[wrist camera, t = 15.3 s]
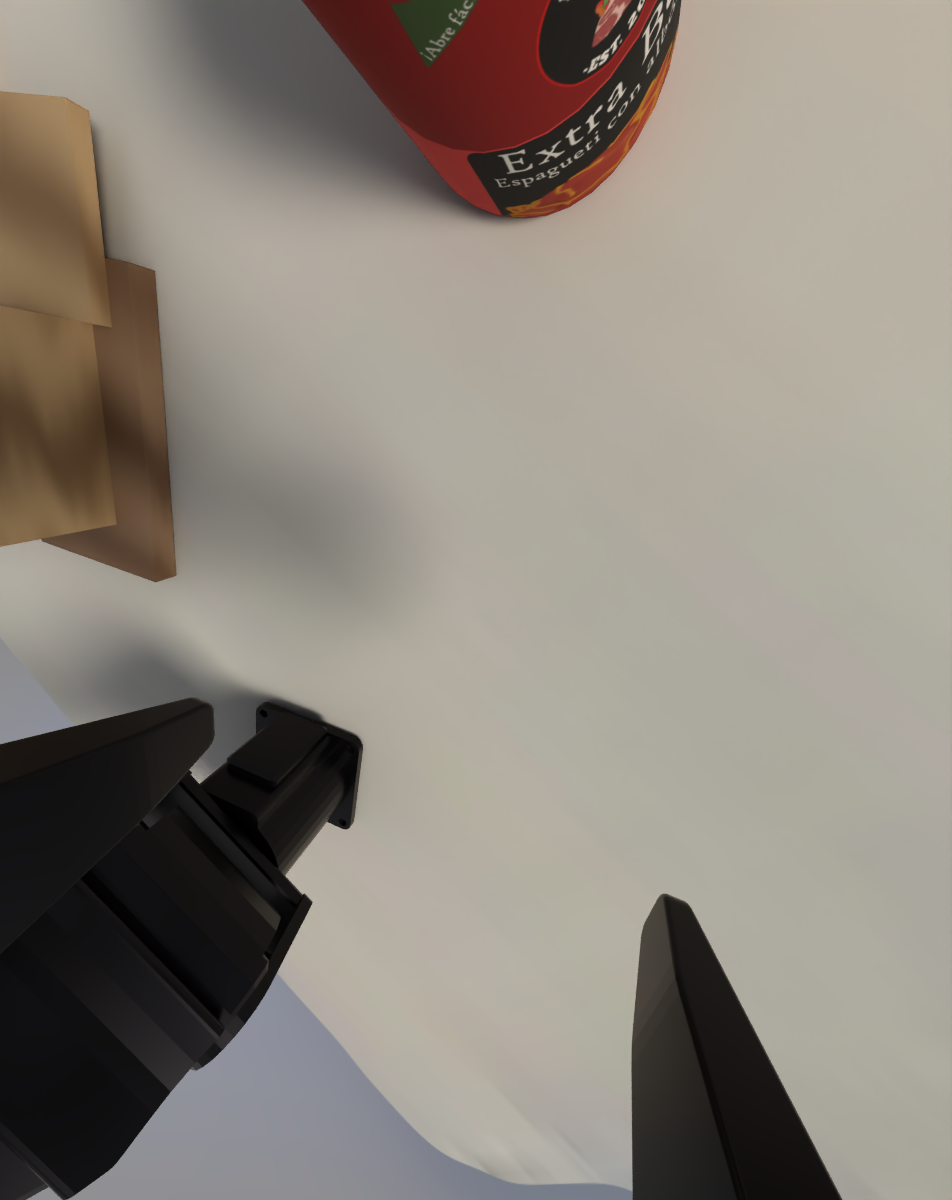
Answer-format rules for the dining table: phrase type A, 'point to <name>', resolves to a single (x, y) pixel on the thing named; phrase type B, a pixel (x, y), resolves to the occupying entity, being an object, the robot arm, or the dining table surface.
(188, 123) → the dining table surface
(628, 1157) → the dining table surface
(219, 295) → the dining table surface
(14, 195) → the stepped wooden block
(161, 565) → the board
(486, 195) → the canned food
